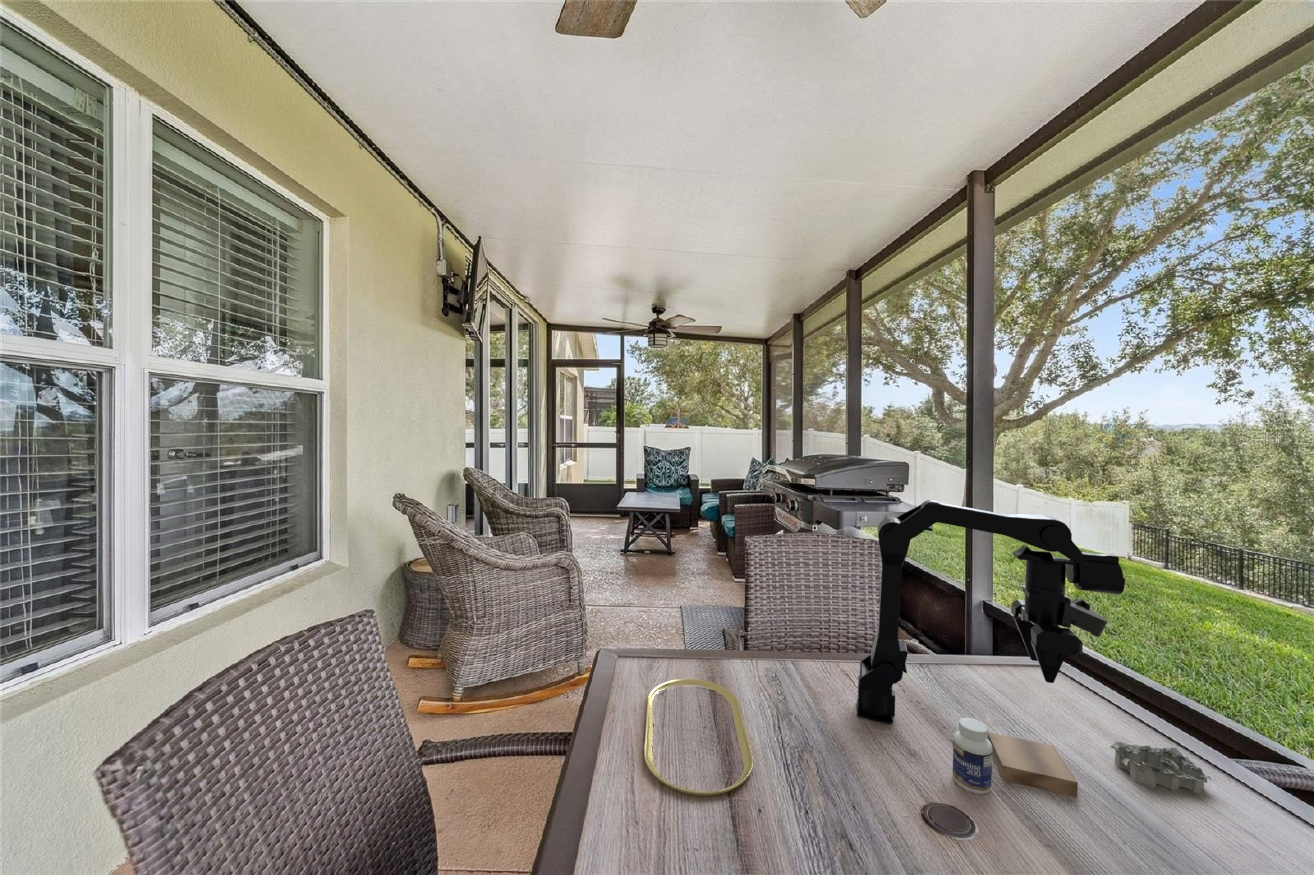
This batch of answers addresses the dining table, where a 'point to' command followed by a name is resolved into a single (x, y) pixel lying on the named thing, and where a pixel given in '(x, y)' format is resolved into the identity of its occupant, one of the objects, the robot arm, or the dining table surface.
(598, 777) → the dining table surface
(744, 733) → the oval ring
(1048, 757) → the tan slab
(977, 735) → the pill bottle
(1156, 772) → the egg carton
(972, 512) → the robot arm
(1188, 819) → the dining table surface
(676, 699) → the dining table surface
